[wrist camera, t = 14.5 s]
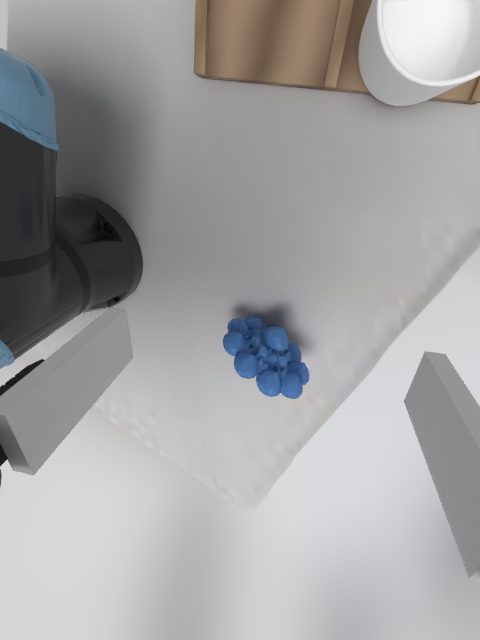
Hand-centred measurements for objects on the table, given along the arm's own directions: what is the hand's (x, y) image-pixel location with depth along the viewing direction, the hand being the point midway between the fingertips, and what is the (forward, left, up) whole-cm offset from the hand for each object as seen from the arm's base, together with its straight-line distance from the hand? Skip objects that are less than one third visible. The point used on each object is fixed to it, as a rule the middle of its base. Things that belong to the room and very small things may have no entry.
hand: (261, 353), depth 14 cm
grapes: (0, -13, -25) cm, 28 cm away
